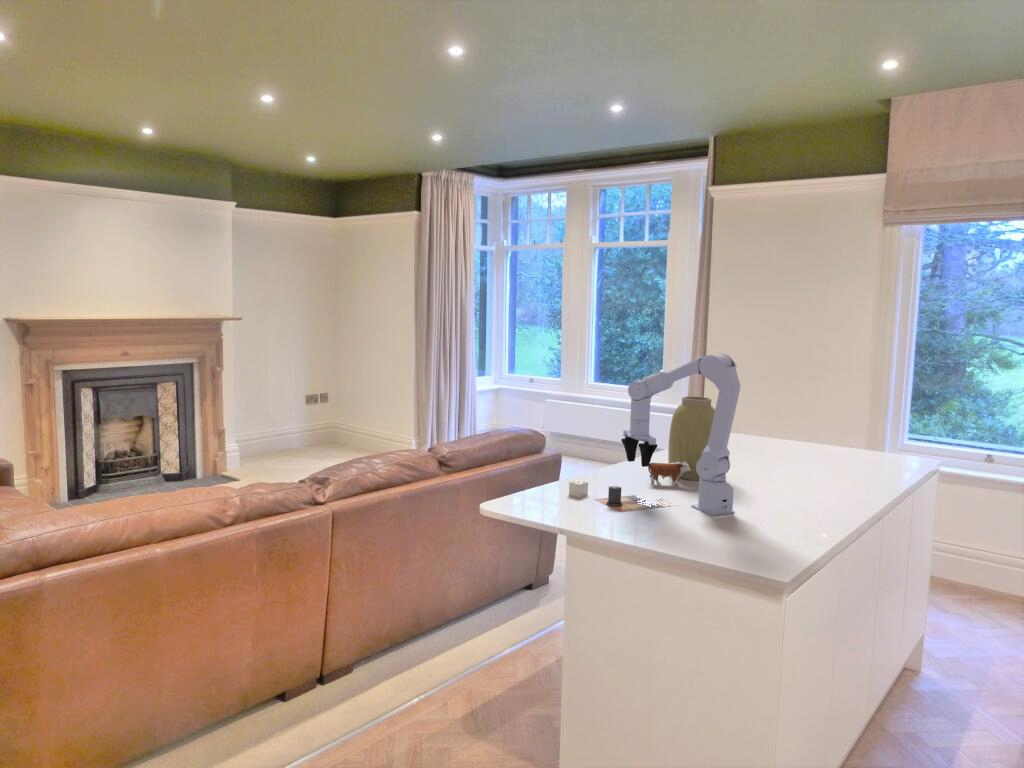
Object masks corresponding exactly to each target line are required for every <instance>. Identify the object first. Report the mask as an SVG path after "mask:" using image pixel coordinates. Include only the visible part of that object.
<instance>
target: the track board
mask: <svg viewBox="0 0 1024 768" xmlns="http://www.w3.org/2000/svg"><path fill="white" fill-rule="evenodd" d="M636 495H637V494H636ZM636 495H635V494H633V495H626V496H625V495H624V496H621V502H622V506H620V507H612V506H608V505H607V501H608V497H606V498H595V499H594V501H597V502H599V503H601V504H603V505H605V506H607V507H609V508H611V509H613V510H614V511H617V512H619V513H624V512H635V511H644V510H654V509H661V508H662V509H663V508H670V505H668V506H669V507H668V506H667V507H665V506H662V505H666V504H663V503H664V502H661V501H663V500H664V498H663V497H660V498H661V499H659V500H658V501H657V502H659V501H660V500H661V501H660V503H661V505H659V504H660V503H658V504H656V505H657V506H655V505H652V504H653V503H652V504H651V507H649V506H646V505H643V504H644V503H642V505H641V504H638V503H641V502H637V501H638V500H639V501H640V500H641V499H642V498H641V499H640V498H637V497H636ZM658 497H659V496H658ZM658 497H657V498H658ZM643 498H644V497H643ZM662 499H663V500H662ZM656 500H657V499H656ZM645 501H646V500H644V501H642V502H645ZM654 501H655V500H654ZM667 501H668V502H669V501H670V500H667ZM657 502H656V503H657ZM665 502H666V501H665ZM670 502H671V503H673V502H672V501H670ZM671 503H668V504H671ZM645 504H646V503H645ZM649 505H650V504H649Z"/></svg>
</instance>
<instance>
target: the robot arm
mask: <svg viewBox="0 0 1024 768" xmlns="http://www.w3.org/2000/svg"><path fill="white" fill-rule="evenodd" d="M695 374H696V375H702V376H703V377H705V378H706V379H707V380H709V381H710V382H712V383H713V384H714V386H715V387H716V388H717V389H718V395H717V401H716V404H715V407H714V409H715V413H714V418H713V422H712V427H711V431H710V436H709V440H708V445H707V446H706V448H705V449H704V451H703V452H702V456H701V458H700V459H699V461H698V462H697V464H696V471H697V473H698V475H699V476H700V478H699V480H698V483H699V484H698V498H697V499H698V500H697V501H698V502H697V504H692V505H691V508H694V509H696V510H698V511H702V512H703V513H706V514H707V515H708V514H709V515H711V516H718V515H725V514H727V515H728V514H735V512H736V511H735V510H733V505H734V488H733V487H732V485H730V484H729V483H728V482H727V476H726V474H727V473H729V470H730V469H731V462H730V455H731V454H730V451H729V449H728V445H729V440H730V436H731V433H732V427H733V422H734V419H735V418H734V417H735V414H736V408H737V405H738V400H739V395H740V391H741V384H740V380H739V376H738V372H737V363H736V362H735V361H734V360H733V358H732V357H731V356H730V355H728V354H725V353H721V354H715V355H713V354H707V355H705V356H702V357H697V358H695V359H693V360H690V361H689V362H687V363H684V364H682V365H681V366H678V367H676V368H674V369H672V370H670V371H668V370H666V369H657V370H655V372H654V373H653V374H650V375H649V376H647V375H645V376H643V377H642V379H641V380H639V379H638V380H637V379H636V380H633V381H632V382H631V383H630V384H629V385H628V388H627V392H628V393H627V394H628V396H629V397H630V419H629V421H630V425H629V426H630V427H629V429H625V430H624V429H623V431H622V433H623V435H622V436H623V438H621V443H622V444H623V447H624V449H625V455H626V459H627V462H628V463H629V462H630V463H631V462H635V460H636V453H637V448H638V447H639V451H640V457H641V458H640V462H641V467H643V468H644V467H645V468H646V467H647V468H648V466H649V464H650V463H651V461H652V458H653V454H654V452H655V450H656V449H657V448H658V444H657V437H655V436H653V435H651V434H650V421H651V420H650V419H651V418H650V415H651V402H652V401H651V400H652V397H653V396H654V395H657V394H659V393H661V392H662V393H663V392H664V391H666V390H669V389H672V387H673V385H674V382H677V381H679V380H682V379H684V378H687V377H689V376H692V375H695ZM639 442H641V443H639Z"/></svg>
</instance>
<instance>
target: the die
mask: <svg viewBox="0 0 1024 768" xmlns="http://www.w3.org/2000/svg"><path fill="white" fill-rule="evenodd" d="M568 483H569V484H568V485H569V486H568V495H569V496H572V495H573V497H576V496H577V498H581V497H583V496H586V495H588V493H589V482H588V481H586V480H585V481H584V480H579V479H577V480H571V481H569V482H568Z"/></svg>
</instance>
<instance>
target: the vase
mask: <svg viewBox="0 0 1024 768" xmlns="http://www.w3.org/2000/svg"><path fill="white" fill-rule="evenodd" d="M714 413H715V407H714V406H713V405H712V398H710V397H704V396H683V397H682V398H681V404H680V405H678V406H677V407H676V409H675V410H674V411H673V414H672V419H671V422H670V427H669V436H668V447H667V448H668V450H667V451H668V453H667V461H668V462H667V463H676V462H681V463H683V462H686V463H687V464H688V465H689V468H690V469H691V471H689V472H688V471H687V472H685V473H683V474H682V475H681V476H680V477H679V478H678V479H682V480H688V479H689V480H688V481H699V478H700V476H699V475H698V473H697V471H696V464H697V462H698V461H699V459H700V458H701V456H702V452H703V451H704V449H705V448H706V446H707V445H708V440H709V436H710V431H711V427H712V422H713V418H714Z"/></svg>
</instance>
